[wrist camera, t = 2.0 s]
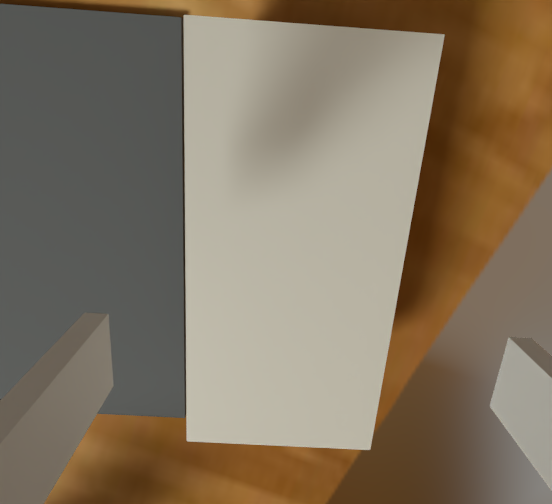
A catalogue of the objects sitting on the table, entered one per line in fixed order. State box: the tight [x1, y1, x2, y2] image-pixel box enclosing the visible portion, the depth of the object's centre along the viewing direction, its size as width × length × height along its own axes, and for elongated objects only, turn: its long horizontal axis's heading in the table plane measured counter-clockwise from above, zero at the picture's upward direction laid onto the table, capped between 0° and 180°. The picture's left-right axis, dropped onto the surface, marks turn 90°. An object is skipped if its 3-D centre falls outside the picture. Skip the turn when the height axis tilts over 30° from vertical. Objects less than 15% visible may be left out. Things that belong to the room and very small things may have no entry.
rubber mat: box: [0, 4, 186, 418], centre depth 28 cm, size 28×16×1 cm, turn 176°
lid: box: [184, 15, 445, 450], centre depth 22 cm, size 22×11×3 cm, turn 176°
